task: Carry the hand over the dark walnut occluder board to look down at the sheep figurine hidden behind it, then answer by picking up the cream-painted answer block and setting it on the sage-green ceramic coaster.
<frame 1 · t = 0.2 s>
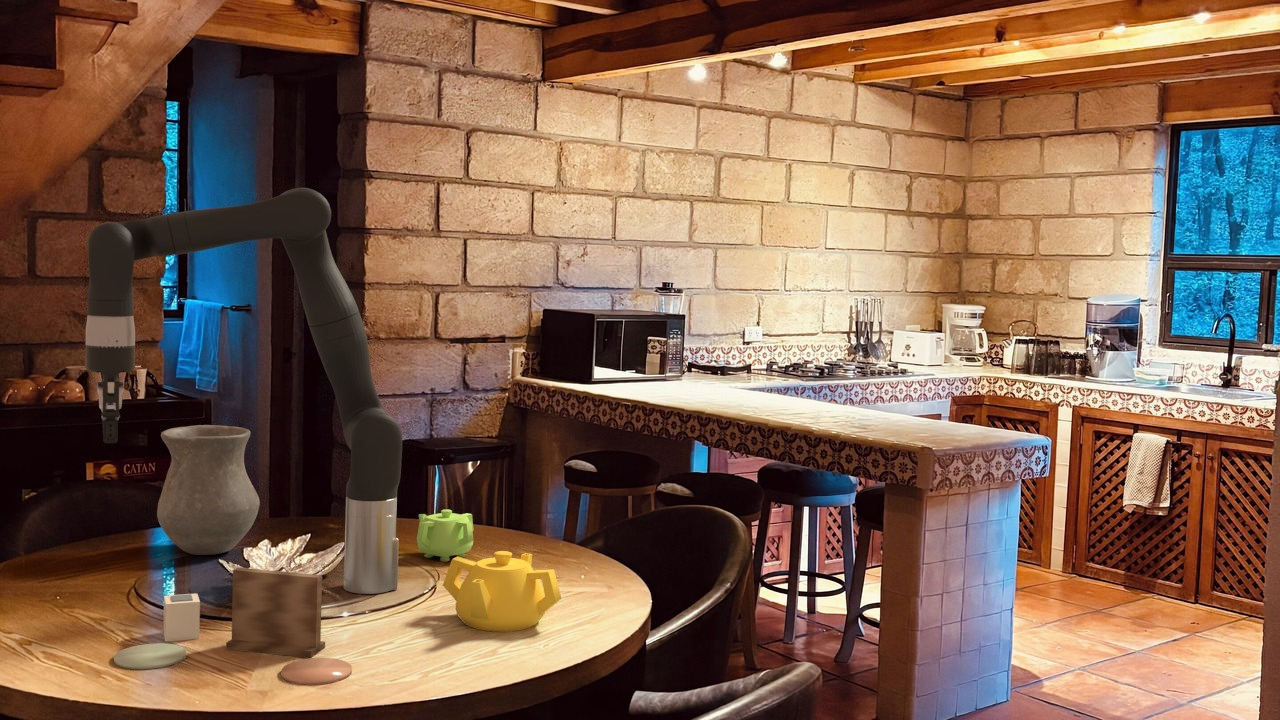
hand: (110, 439, 198), 29 cm above the table, fingers open, 8 cm apart
teapot 2: (444, 557, 246), on the table
vase: (208, 552, 241), on the table
sage coaster: (150, 657, 176), on the table
answer block: (181, 635, 188), on the table
occluder board: (275, 648, 183), on the table
teapot: (500, 621, 203), on the table
terracotta coaster: (316, 672, 173), on the table
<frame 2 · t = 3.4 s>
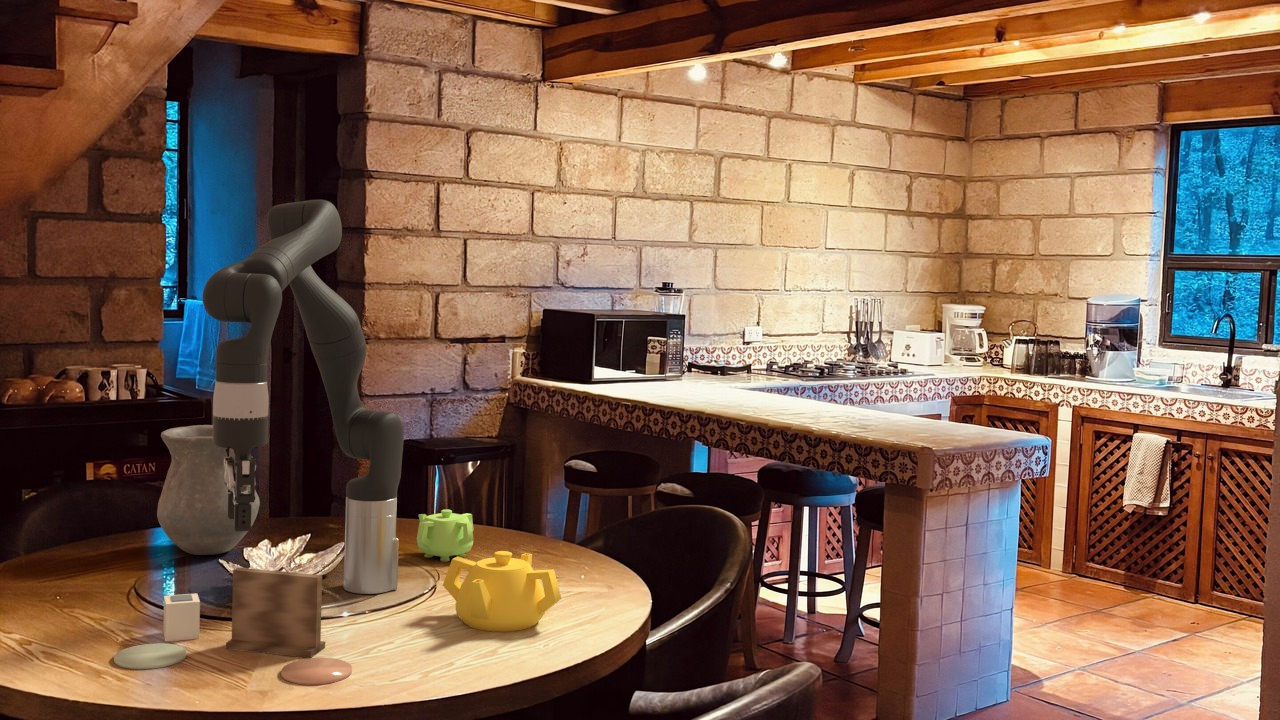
hand: (238, 524, 170), 22 cm above the table, fingers open, 8 cm apart
nothing on the table moved.
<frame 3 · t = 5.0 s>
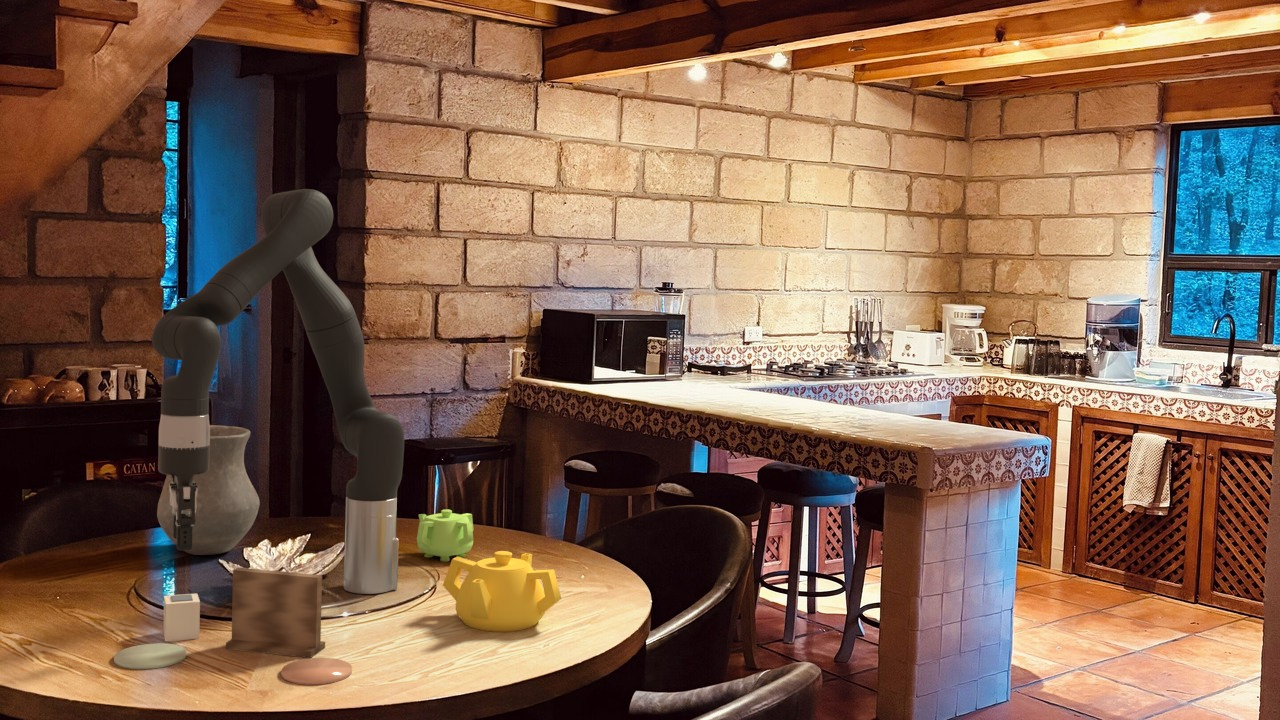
hand: (182, 543, 186), 15 cm above the table, fingers open, 8 cm apart
nothing on the table moved.
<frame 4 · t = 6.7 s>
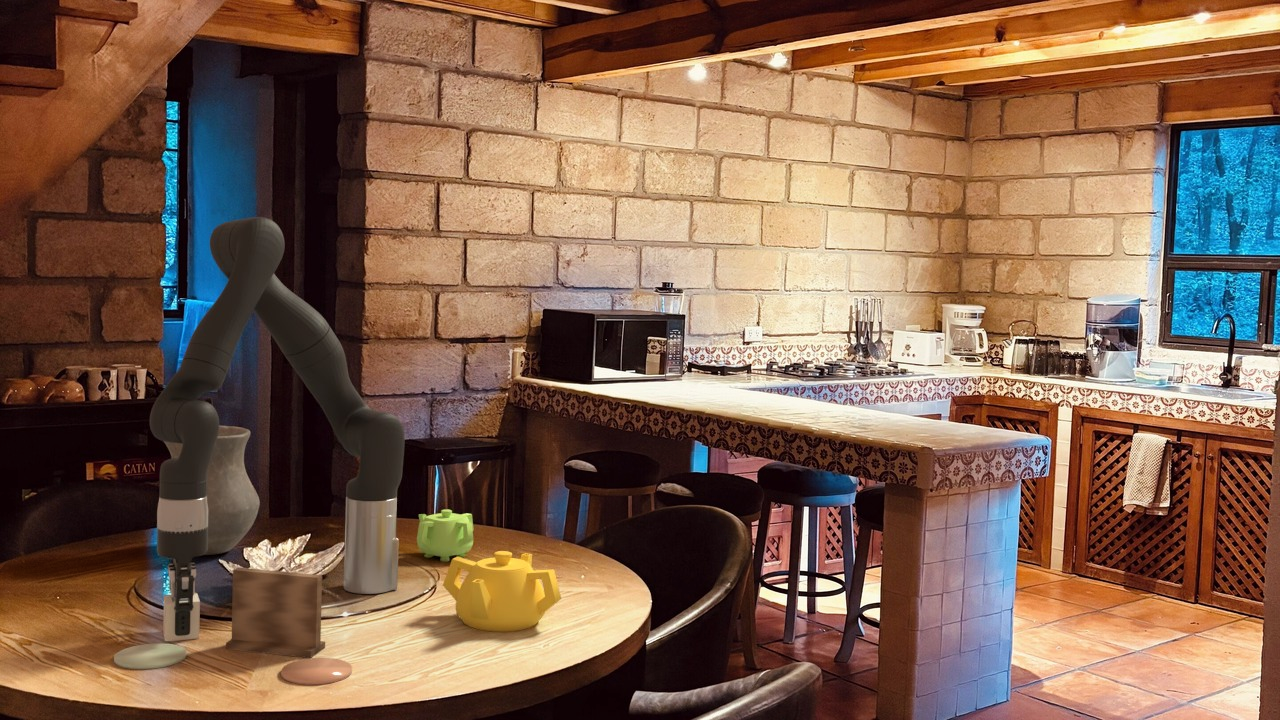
hand: (181, 629, 187), 1 cm above the table, fingers closed on answer block, 5 cm apart
answer block: (181, 635, 187), on the table, touching gripper
everything else where it was.
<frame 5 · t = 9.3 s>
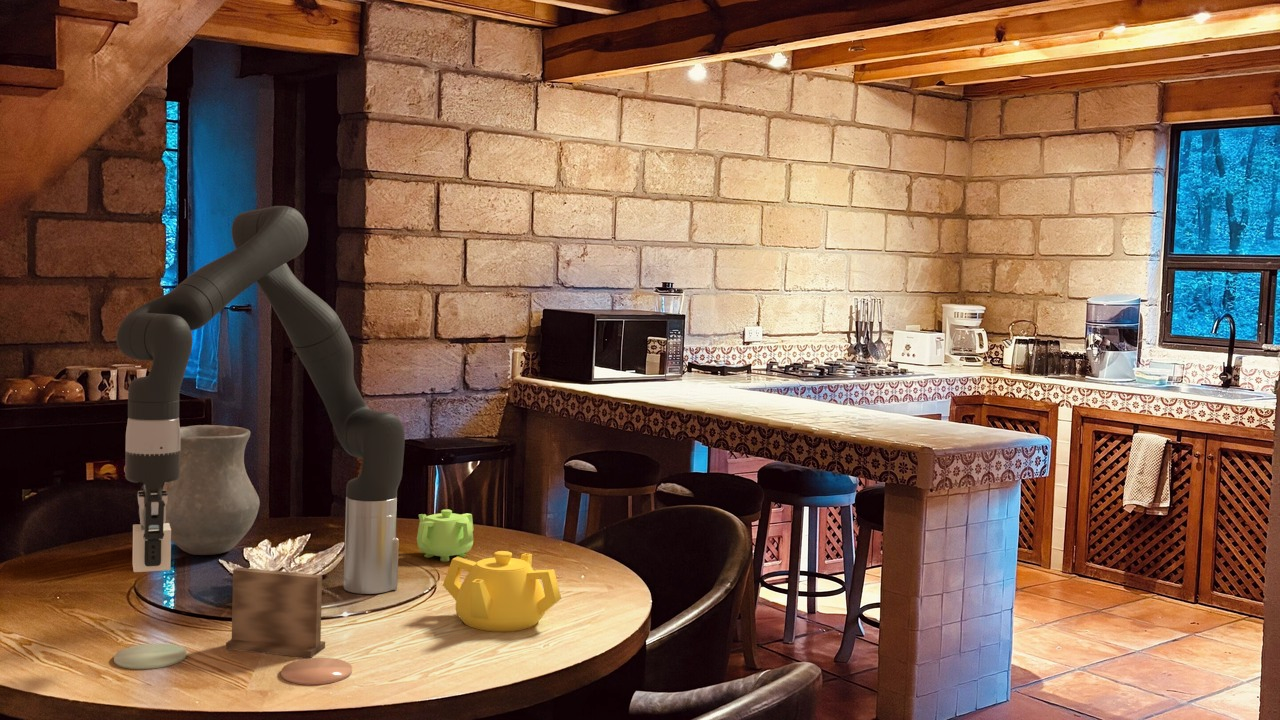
hand: (151, 560, 175), 15 cm above the table, fingers closed on answer block, 5 cm apart
answer block: (151, 567, 175), point 14 cm above the table, touching gripper
everything else where it was.
when the fingers open (2 cm above the table, at t = 11.9 s): answer block stays where it is, resting on sage coaster.
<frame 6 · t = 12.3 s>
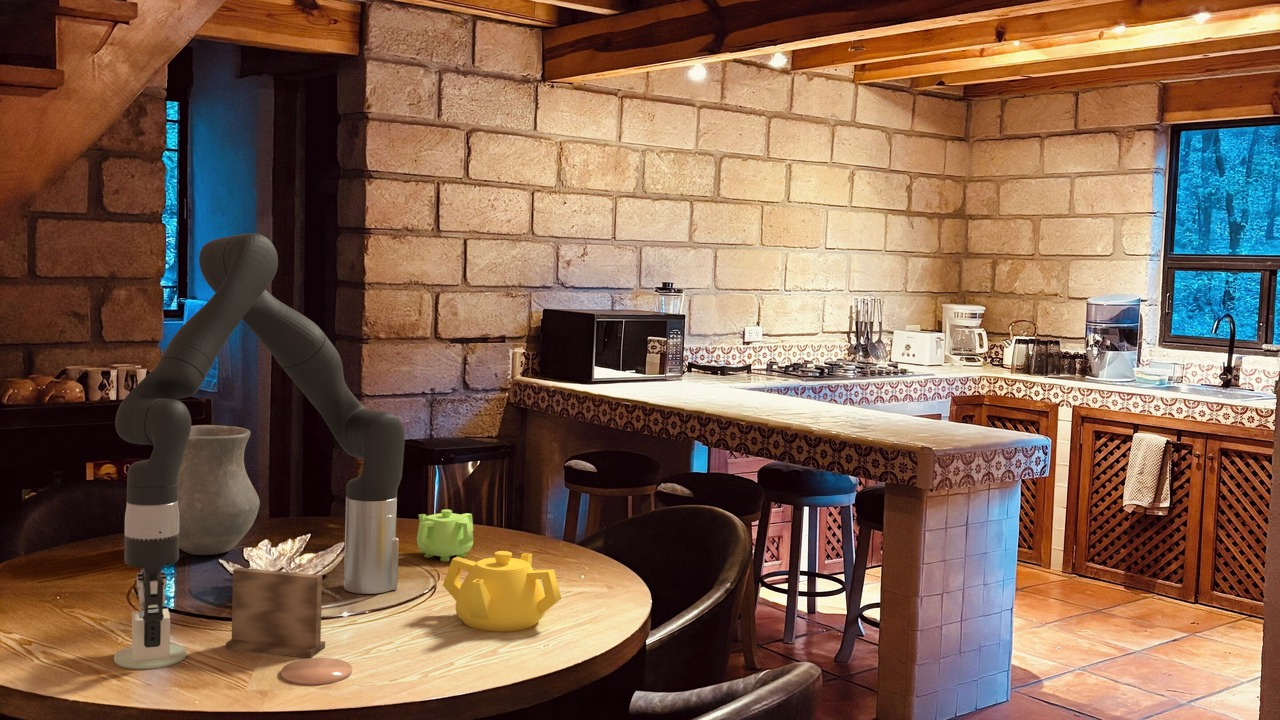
hand: (150, 637, 176), 3 cm above the table, fingers open, 8 cm apart
answer block: (150, 653, 176), point 1 cm above the table, touching sage coaster
everything else where it was.
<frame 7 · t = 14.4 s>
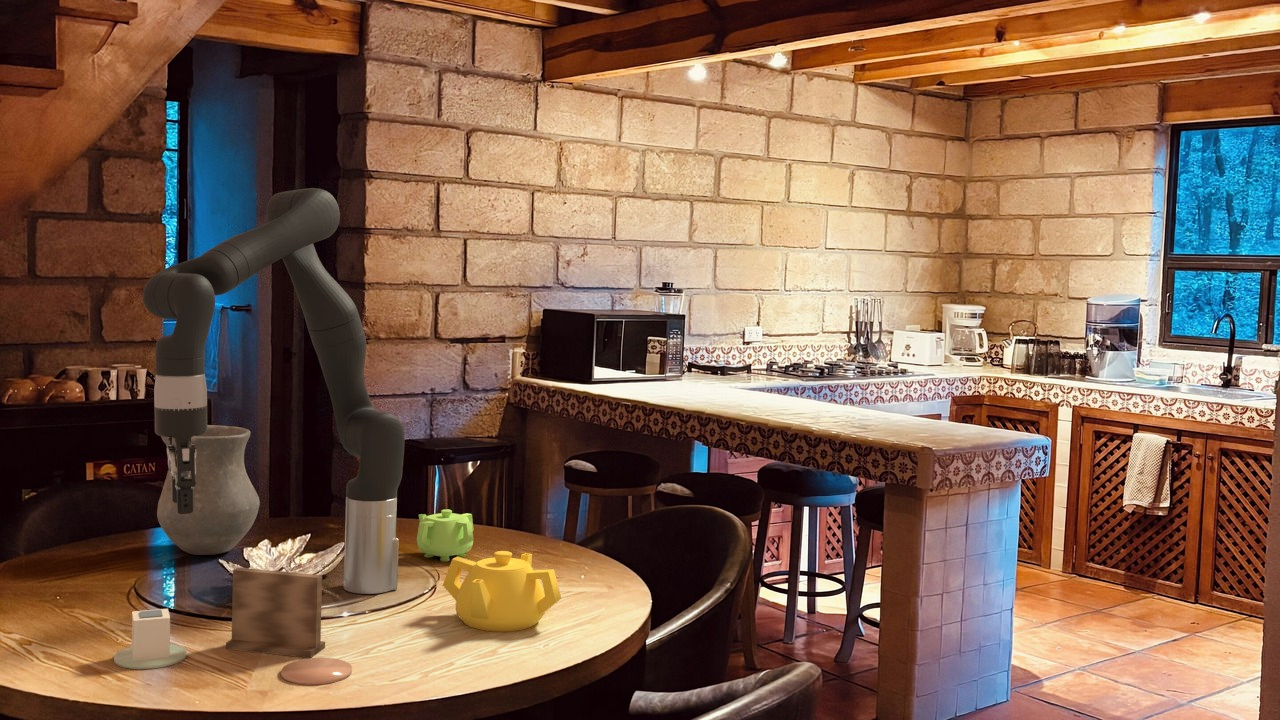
hand: (182, 507, 182), 22 cm above the table, fingers open, 8 cm apart
nothing on the table moved.
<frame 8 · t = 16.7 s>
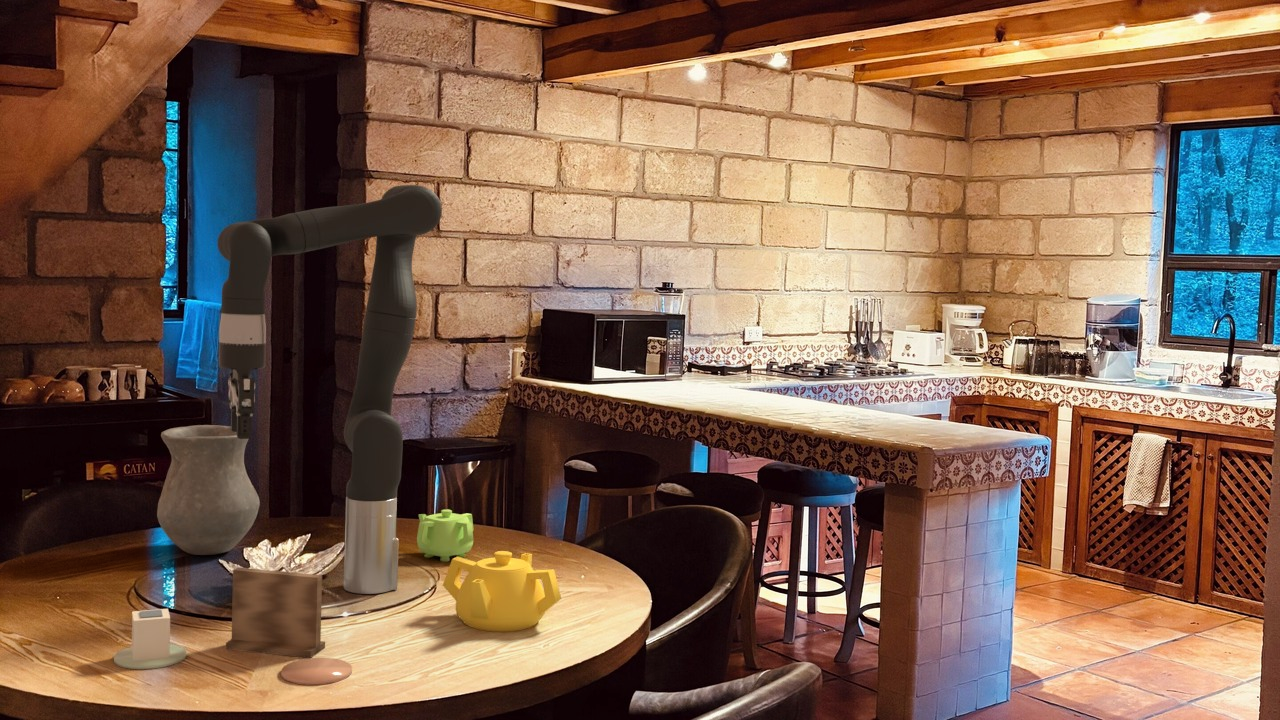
hand: (240, 434, 201), 30 cm above the table, fingers open, 8 cm apart
nothing on the table moved.
at the end: answer block 0.1 cm from the sage coaster (horizontally); answer block tilted 0°; the gripper is holding nothing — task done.
